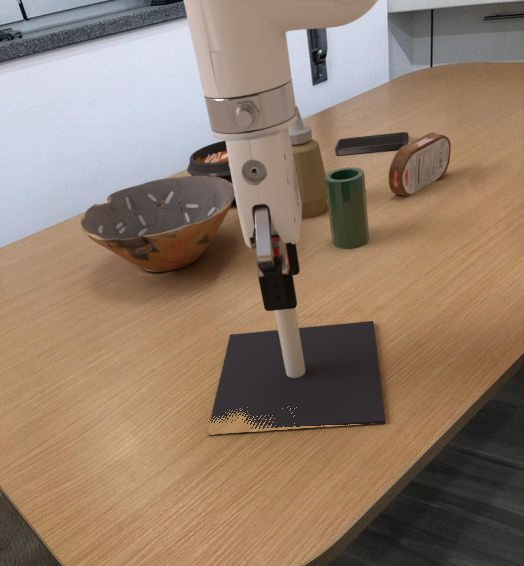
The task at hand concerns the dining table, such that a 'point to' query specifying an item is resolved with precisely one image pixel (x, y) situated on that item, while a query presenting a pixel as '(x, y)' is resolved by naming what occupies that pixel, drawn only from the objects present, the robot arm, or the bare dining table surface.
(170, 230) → the bowl
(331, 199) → the pen holder
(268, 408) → the mat
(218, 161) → the casserole
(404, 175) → the tin
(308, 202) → the squeeze bottle
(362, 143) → the phone
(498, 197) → the dining table surface
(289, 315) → the rod
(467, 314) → the dining table surface
